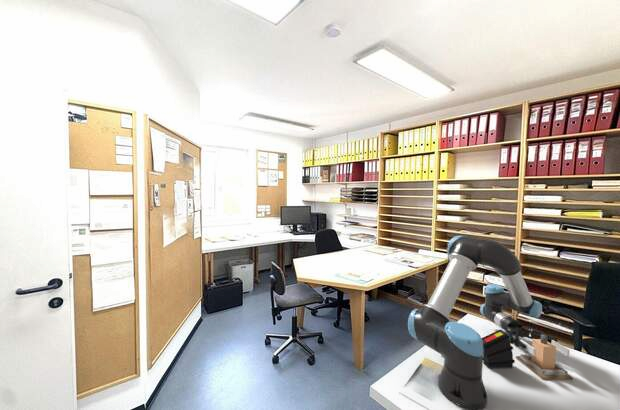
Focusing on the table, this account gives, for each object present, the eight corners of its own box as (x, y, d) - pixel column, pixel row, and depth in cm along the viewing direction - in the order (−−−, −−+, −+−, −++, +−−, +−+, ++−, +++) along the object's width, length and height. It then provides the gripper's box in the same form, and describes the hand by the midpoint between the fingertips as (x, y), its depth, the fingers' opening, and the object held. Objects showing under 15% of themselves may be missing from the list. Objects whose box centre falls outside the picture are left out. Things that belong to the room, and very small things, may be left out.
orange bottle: (542, 370, 97) (544, 339, 97) (531, 361, 102) (532, 332, 102) (554, 370, 97) (556, 339, 97) (542, 361, 102) (544, 332, 102)
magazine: (521, 364, 99) (508, 333, 98) (493, 378, 99) (479, 347, 98) (513, 358, 103) (500, 328, 102) (486, 371, 103) (473, 341, 102)
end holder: (541, 379, 94) (542, 373, 94) (515, 358, 106) (516, 352, 106) (572, 379, 94) (572, 373, 94) (543, 358, 106) (543, 353, 106)
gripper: (533, 332, 117) (582, 362, 96) (482, 331, 118) (520, 361, 96) (534, 317, 117) (583, 344, 96) (483, 316, 117) (521, 343, 96)
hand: (551, 352), depth 96 cm, fingers open, 13 cm apart
